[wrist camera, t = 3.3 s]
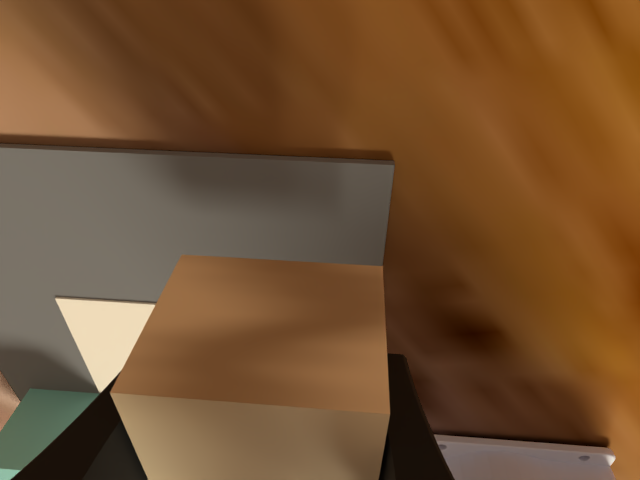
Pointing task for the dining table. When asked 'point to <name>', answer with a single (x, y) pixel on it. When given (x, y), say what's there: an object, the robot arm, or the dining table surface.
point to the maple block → (260, 373)
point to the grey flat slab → (154, 241)
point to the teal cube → (37, 426)
